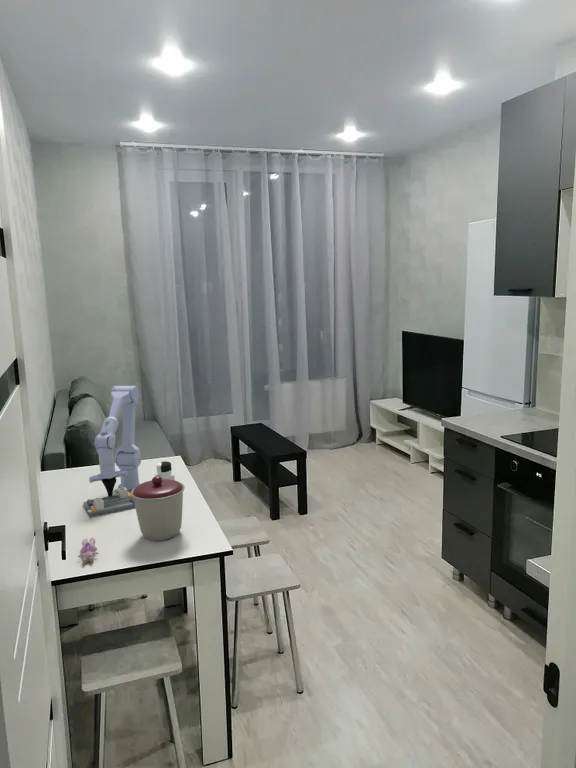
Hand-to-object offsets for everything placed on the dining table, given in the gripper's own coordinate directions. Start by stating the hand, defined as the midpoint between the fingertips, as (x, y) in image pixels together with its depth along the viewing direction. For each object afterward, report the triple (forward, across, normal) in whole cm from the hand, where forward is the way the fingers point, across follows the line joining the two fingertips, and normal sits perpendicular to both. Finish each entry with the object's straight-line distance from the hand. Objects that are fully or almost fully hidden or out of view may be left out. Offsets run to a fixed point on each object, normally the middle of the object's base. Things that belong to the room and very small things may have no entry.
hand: (110, 496), depth 236 cm
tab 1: (+1, -6, -8) cm, 10 cm away
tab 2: (+1, +5, 0) cm, 5 cm away
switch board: (+3, 0, -4) cm, 5 cm away
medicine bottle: (+3, +23, +1) cm, 23 cm away
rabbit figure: (+3, -16, -44) cm, 47 cm away
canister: (+3, +9, -42) cm, 43 cm away
